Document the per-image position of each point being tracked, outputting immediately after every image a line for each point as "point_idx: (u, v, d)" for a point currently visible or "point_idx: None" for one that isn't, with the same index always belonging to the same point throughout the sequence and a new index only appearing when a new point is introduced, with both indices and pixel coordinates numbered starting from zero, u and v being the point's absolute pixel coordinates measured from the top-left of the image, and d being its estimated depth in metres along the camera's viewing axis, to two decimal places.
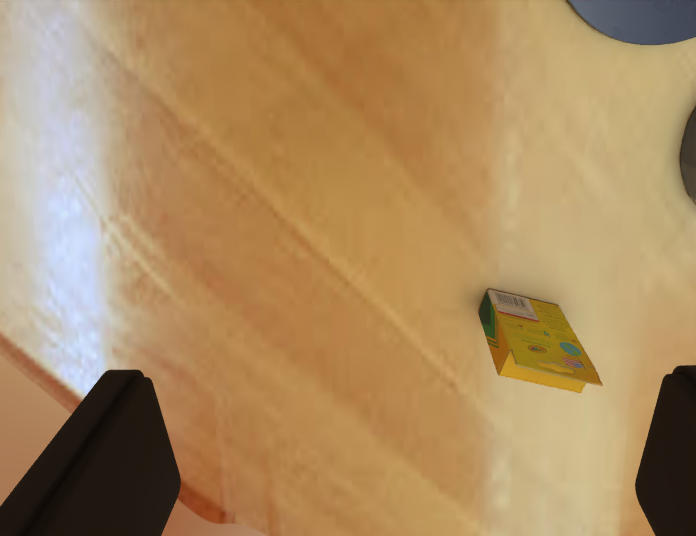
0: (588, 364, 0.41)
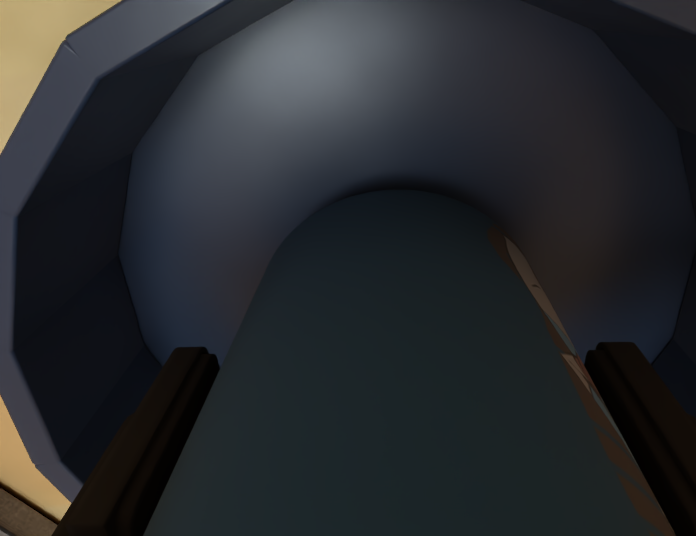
0: None
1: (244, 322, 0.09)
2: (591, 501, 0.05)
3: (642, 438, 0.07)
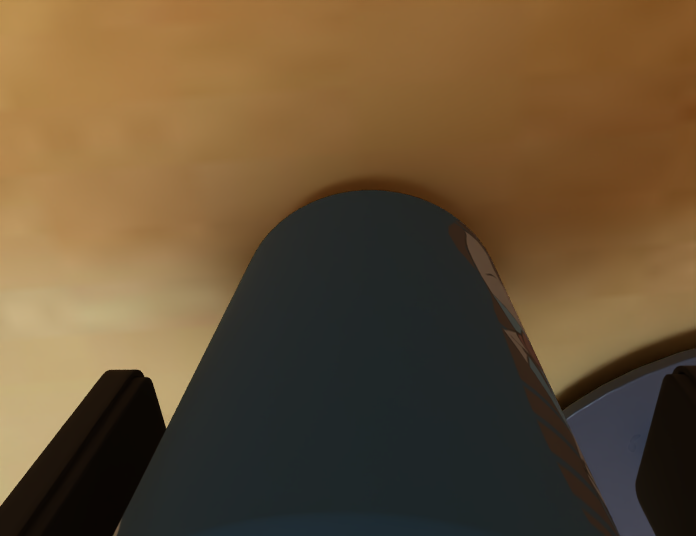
0: None
1: (227, 310, 0.10)
2: (508, 438, 0.06)
3: None
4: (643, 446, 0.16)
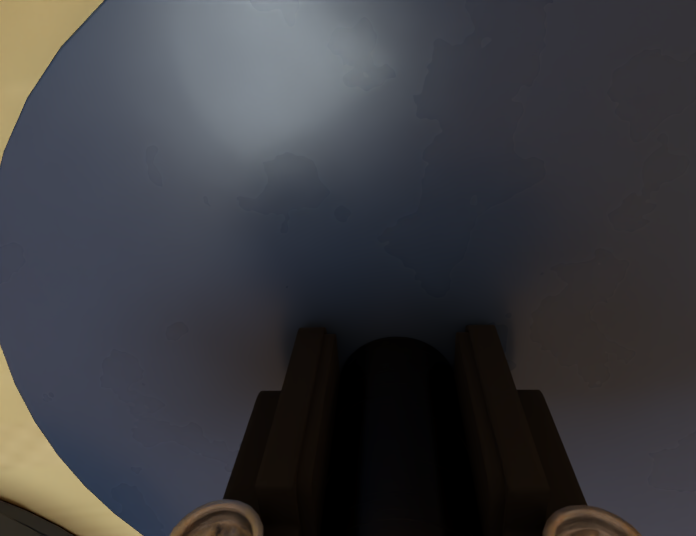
0: None
1: None
2: None
3: (473, 408, 0.08)
4: (173, 173, 0.09)
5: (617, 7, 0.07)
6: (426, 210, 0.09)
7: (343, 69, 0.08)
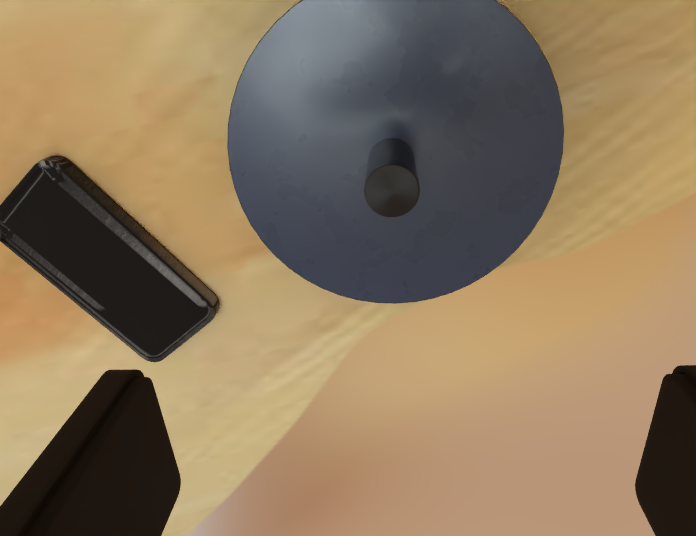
0: None
1: None
2: None
3: None
4: (309, 69, 0.25)
5: (461, 8, 0.23)
6: (401, 82, 0.25)
7: (372, 29, 0.24)
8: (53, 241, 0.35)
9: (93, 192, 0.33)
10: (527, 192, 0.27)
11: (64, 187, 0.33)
